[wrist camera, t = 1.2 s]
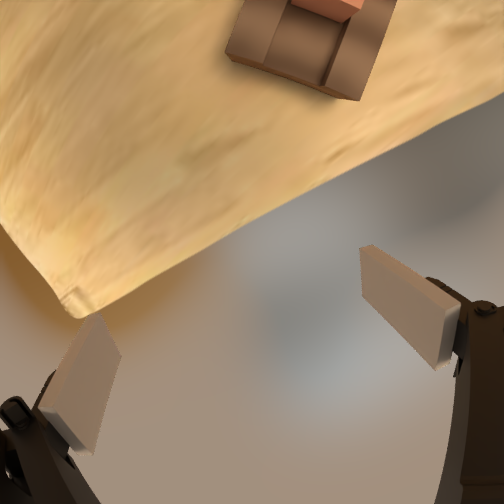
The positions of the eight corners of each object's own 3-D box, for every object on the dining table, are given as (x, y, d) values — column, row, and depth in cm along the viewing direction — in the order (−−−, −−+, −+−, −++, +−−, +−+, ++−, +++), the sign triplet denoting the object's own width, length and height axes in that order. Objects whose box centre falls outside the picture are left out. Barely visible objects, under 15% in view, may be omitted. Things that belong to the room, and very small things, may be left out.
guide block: (272, -38, 22) (280, -95, 11) (374, 1, 24) (429, -31, 12) (232, 61, 29) (216, 42, 17) (337, 98, 31) (382, 105, 19)
